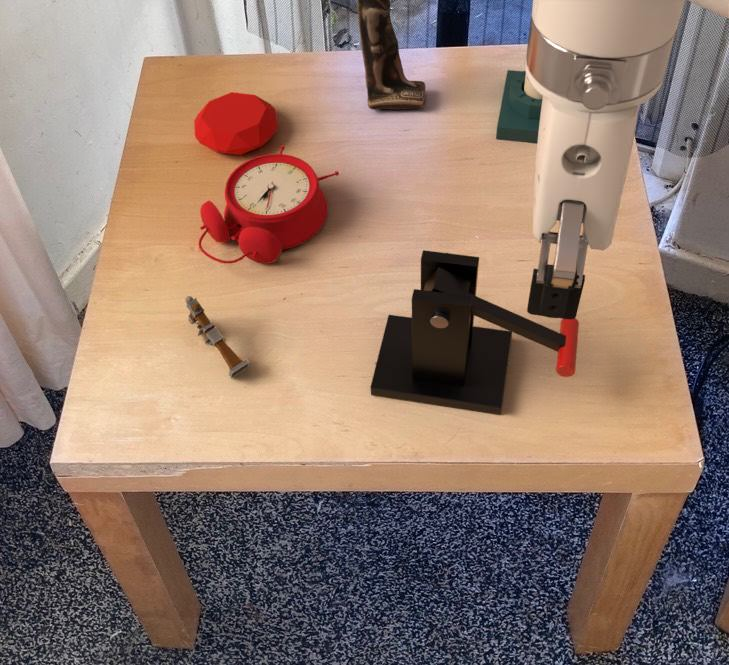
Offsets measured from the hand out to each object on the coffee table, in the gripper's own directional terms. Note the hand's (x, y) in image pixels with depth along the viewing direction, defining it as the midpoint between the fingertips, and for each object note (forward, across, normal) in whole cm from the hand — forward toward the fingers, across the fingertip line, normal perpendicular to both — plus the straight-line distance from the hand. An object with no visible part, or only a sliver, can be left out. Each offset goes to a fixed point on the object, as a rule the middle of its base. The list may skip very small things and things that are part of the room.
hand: (556, 260), depth 60 cm
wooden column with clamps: (+16, -1, +28) cm, 32 cm away
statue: (+16, +36, +19) cm, 43 cm away
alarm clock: (+16, +15, +28) cm, 35 cm away
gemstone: (+16, +28, +35) cm, 47 cm away
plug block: (+16, +36, +3) cm, 39 cm away
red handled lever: (+9, +1, +4) cm, 10 cm away
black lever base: (+16, +1, +8) cm, 18 cm away
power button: (+13, +36, +3) cm, 38 cm away
